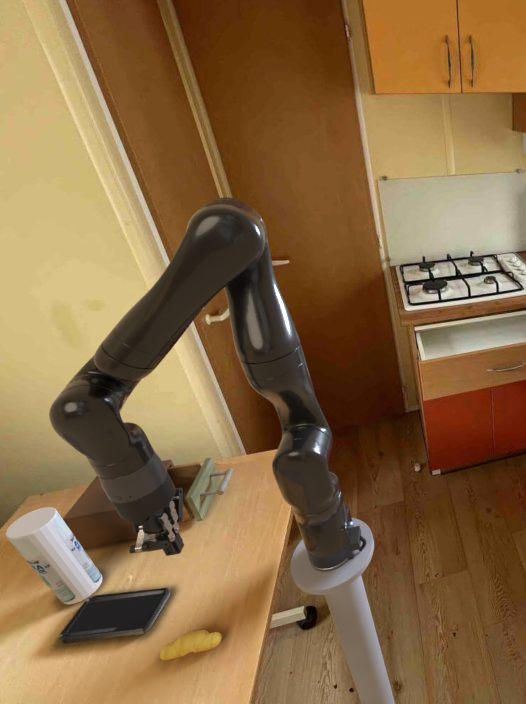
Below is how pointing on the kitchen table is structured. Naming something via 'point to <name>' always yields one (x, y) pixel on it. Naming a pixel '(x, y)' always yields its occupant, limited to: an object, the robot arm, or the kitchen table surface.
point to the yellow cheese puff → (190, 644)
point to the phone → (115, 615)
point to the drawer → (198, 486)
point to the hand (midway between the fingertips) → (176, 550)
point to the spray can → (55, 554)
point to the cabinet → (99, 517)
